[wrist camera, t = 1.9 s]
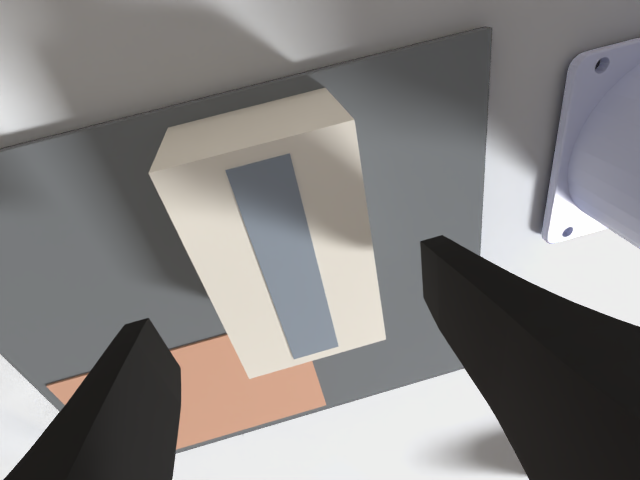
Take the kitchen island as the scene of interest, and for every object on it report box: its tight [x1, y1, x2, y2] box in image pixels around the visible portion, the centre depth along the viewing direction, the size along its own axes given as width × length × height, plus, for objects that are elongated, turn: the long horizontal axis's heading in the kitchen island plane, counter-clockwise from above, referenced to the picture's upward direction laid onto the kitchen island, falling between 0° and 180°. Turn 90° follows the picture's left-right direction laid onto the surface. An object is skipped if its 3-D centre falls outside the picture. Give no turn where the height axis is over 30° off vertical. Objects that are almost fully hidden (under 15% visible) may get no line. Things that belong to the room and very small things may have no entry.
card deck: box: [149, 88, 386, 379], centre depth 13 cm, size 5×8×4 cm, turn 11°
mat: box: [0, 27, 492, 454], centre depth 17 cm, size 20×17×1 cm
